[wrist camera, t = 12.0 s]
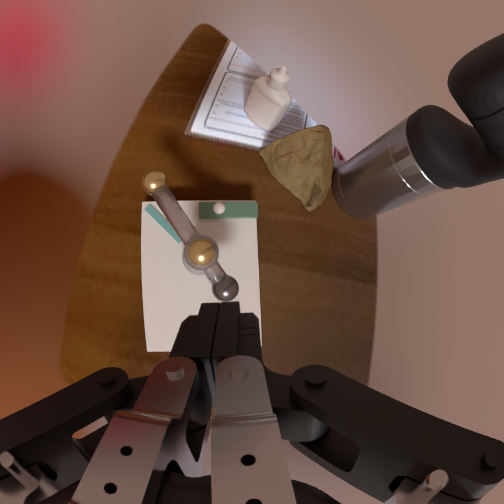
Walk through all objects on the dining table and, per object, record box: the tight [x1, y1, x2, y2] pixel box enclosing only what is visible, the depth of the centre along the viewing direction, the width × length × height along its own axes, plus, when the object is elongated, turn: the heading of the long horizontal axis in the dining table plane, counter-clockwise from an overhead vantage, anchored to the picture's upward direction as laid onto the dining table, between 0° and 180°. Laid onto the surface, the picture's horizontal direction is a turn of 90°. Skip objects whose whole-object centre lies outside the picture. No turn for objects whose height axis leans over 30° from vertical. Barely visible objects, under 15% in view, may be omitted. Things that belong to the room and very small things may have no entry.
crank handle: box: [142, 170, 239, 302], centre depth 27 cm, size 15×3×6 cm, turn 35°
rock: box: [259, 125, 334, 211], centre depth 35 cm, size 11×9×10 cm
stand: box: [141, 200, 262, 351], centre depth 32 cm, size 14×18×5 cm
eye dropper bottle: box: [244, 66, 292, 132], centre depth 33 cm, size 4×6×12 cm
